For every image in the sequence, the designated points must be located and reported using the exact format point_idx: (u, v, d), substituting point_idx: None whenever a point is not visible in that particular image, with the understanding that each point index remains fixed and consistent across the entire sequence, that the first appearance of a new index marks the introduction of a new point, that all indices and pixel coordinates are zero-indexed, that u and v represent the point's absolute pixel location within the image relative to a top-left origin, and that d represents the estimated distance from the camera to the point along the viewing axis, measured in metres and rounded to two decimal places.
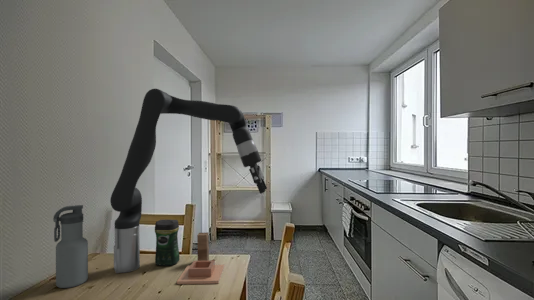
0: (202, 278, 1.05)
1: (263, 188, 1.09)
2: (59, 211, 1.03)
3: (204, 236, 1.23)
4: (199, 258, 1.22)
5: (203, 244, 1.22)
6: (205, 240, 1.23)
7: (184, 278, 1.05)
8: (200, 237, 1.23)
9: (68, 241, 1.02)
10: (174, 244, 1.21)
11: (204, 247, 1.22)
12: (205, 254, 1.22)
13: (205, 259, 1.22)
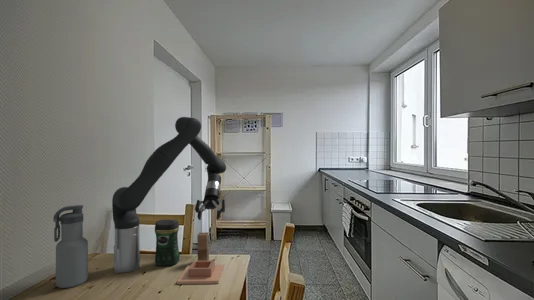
0: (202, 278, 1.05)
1: None
2: (59, 211, 1.03)
3: (204, 236, 1.23)
4: (199, 258, 1.22)
5: (203, 244, 1.22)
6: (205, 240, 1.23)
7: (184, 278, 1.05)
8: (200, 237, 1.23)
9: (68, 241, 1.02)
10: (174, 244, 1.21)
11: (204, 247, 1.22)
12: (205, 254, 1.22)
13: (205, 259, 1.22)
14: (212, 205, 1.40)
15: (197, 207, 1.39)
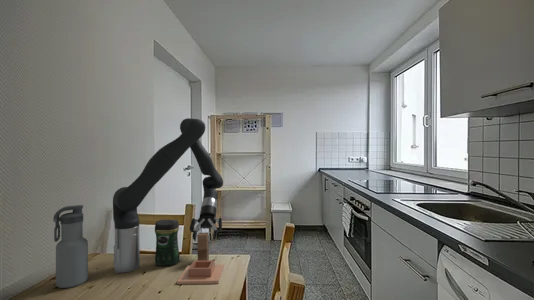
0: (202, 278, 1.05)
1: None
2: (59, 211, 1.03)
3: (204, 236, 1.23)
4: (199, 258, 1.22)
5: (203, 244, 1.22)
6: (205, 240, 1.23)
7: (184, 278, 1.05)
8: (200, 237, 1.23)
9: (68, 241, 1.02)
10: (174, 244, 1.21)
11: (204, 247, 1.22)
12: (205, 254, 1.22)
13: (205, 259, 1.22)
14: (208, 224, 1.31)
15: (192, 226, 1.30)
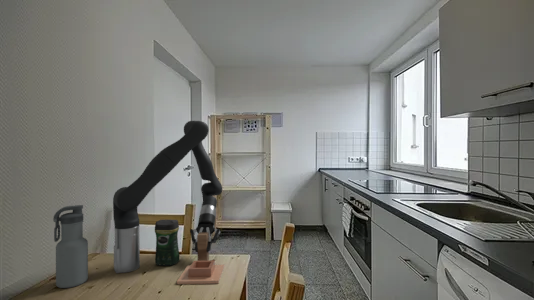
0: (202, 278, 1.05)
1: None
2: (59, 211, 1.03)
3: (204, 236, 1.23)
4: (199, 258, 1.22)
5: (203, 244, 1.22)
6: (205, 240, 1.23)
7: (184, 278, 1.05)
8: (200, 237, 1.23)
9: (68, 241, 1.02)
10: (174, 244, 1.21)
11: (204, 246, 1.22)
12: (205, 254, 1.22)
13: (205, 259, 1.22)
14: None
15: (194, 237, 1.26)
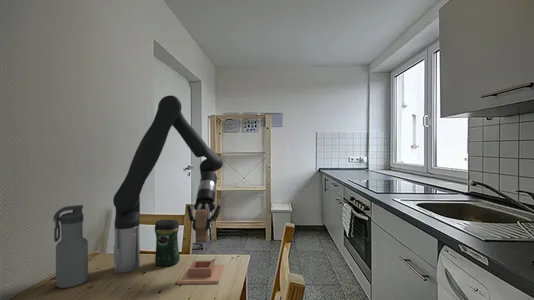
0: (202, 278, 1.05)
1: None
2: (59, 211, 1.03)
3: (203, 212, 1.09)
4: (197, 237, 1.09)
5: (201, 221, 1.09)
6: (204, 217, 1.09)
7: (184, 278, 1.05)
8: (198, 213, 1.09)
9: (68, 241, 1.02)
10: (174, 244, 1.21)
11: (202, 224, 1.09)
12: (204, 233, 1.09)
13: (204, 238, 1.09)
14: None
15: (191, 214, 1.12)
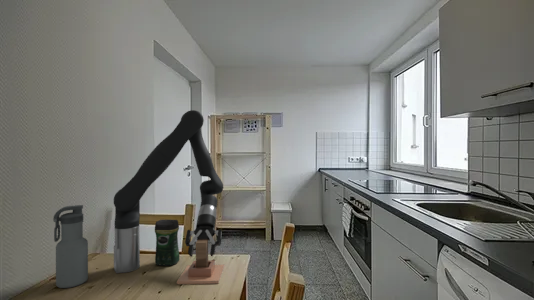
0: (202, 278, 1.05)
1: None
2: (59, 211, 1.03)
3: (203, 244, 1.09)
4: None
5: (202, 253, 1.08)
6: (204, 248, 1.09)
7: (184, 278, 1.05)
8: (199, 245, 1.09)
9: (68, 241, 1.02)
10: (174, 244, 1.21)
11: (203, 256, 1.08)
12: (204, 265, 1.08)
13: None
14: (206, 236, 1.13)
15: (188, 239, 1.12)
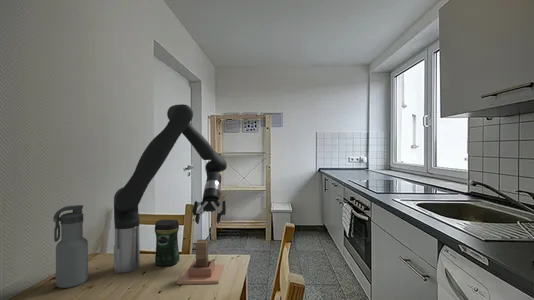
0: (202, 278, 1.05)
1: None
2: (59, 211, 1.03)
3: (203, 244, 1.09)
4: None
5: (202, 253, 1.08)
6: (204, 248, 1.09)
7: (184, 278, 1.05)
8: (199, 245, 1.09)
9: (68, 241, 1.02)
10: (174, 244, 1.21)
11: (203, 256, 1.08)
12: (204, 265, 1.08)
13: None
14: (211, 207, 1.26)
15: (195, 209, 1.25)
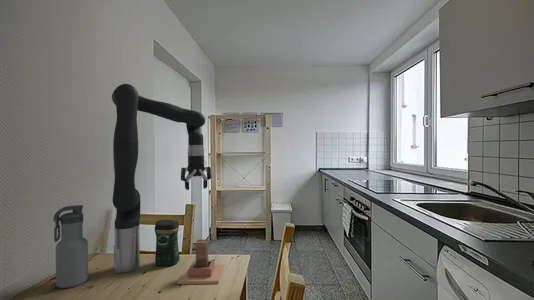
0: (202, 278, 1.05)
1: None
2: (59, 211, 1.03)
3: (203, 244, 1.09)
4: None
5: (202, 253, 1.08)
6: (204, 248, 1.09)
7: (184, 278, 1.05)
8: (199, 245, 1.09)
9: (68, 241, 1.02)
10: (174, 244, 1.21)
11: (203, 256, 1.08)
12: (204, 265, 1.08)
13: None
14: (199, 174, 1.36)
15: (184, 177, 1.31)
